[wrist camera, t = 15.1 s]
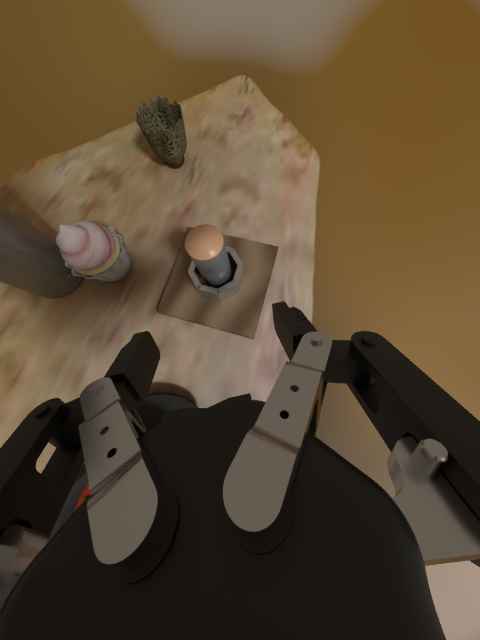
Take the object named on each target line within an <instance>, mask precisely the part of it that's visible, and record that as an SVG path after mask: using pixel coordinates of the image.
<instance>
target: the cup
mask: <svg viewBox="0 0 480 640" xmlns="http://www.w3.org/2000/svg"><path fill="white" fill-rule="evenodd" d="M149 101H150V102H149V104H150V108H149V107H148V106H147V105H146V104H145V103H143V108H141V107H139V112H140V115H139V114H138V112H136V115H137V117H138V119H136V122H137V123H138V125H139V127H140V128H141V130H142V132H143V134H144V136H145V137H146V139H147V141H148V143H149V144H150V146H151V148H152V149H153V151H154V152H155V153H156V155H157V156H158V157H159V158H161V159H162V160H164V161H166V163H167V164H168V166H169V167H171V168H179V167H181V166H182V165H183V163H184V154H185V152H186V147H187V141H186V133H185V127H184V122H183V116H182V110H181V106H180V104H177V102H176V101H174V105H172V104H171V105H170V104H169V102H168V100H167V98H166V97H165V99H164V100H163V99H162V98H161V97H160V96H157V98H156V101H155V102H156V103H153V101H152V100H151V99H150V100H149Z"/></svg>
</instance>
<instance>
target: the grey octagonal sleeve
mask: <svg viewBox="0 0 480 640" xmlns="http://www.w3.org/2000/svg"><path fill="white" fill-rule="evenodd" d="M225 247H226V251H227V255H228V258H229V262H230V264H232V265H233V267H234V269H235V270H236V272H235V276H234V279H233V281H231V282H229V283H228V284H226V285H224V286H222V287H220V288H218V289H216V288H212V287H208V286H204V285H202V284H201V283H200V278H201V276H202V275H201V273H200V271H199V270H198V268H197V267H196V265H195V263H194V262H193V260H192V262H191V264H190V267H189V270H188V273H189V275H190V277H191V278H192V280H193V282H194V284H195V286H196V288H197V290H198V291H199V293H200V294H201V295H202V297H203V298H207V299H211V300H215V301H219V302H223V301H225V300H227V299H228V298H230V297H232V296H234V295H236V294H238V293H239V291H240V287H241V284H242V281H243V277H244V264H243V263H242V261H241V260H240V258H239V256H238V255H237V253H236V252H235V250H234V248H231V247H227V246H225Z"/></svg>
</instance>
